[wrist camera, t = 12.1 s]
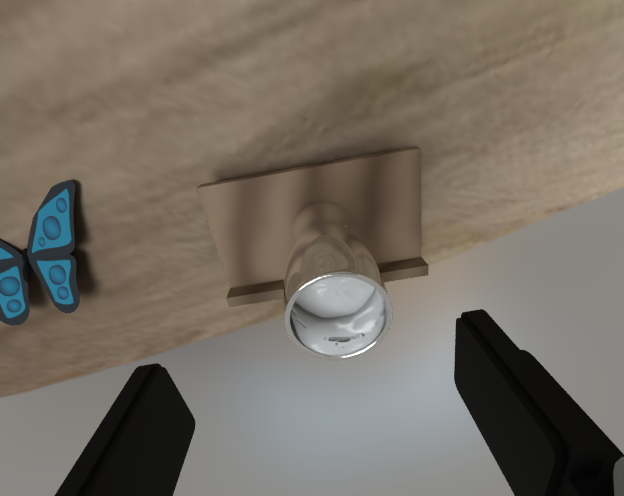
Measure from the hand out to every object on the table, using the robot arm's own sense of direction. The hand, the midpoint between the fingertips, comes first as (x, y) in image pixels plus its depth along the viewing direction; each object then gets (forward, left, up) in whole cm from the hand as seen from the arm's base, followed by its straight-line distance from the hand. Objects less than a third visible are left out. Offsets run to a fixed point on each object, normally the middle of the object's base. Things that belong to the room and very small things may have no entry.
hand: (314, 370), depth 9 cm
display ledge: (-1, +4, -27) cm, 27 cm away
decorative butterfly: (+35, +3, -28) cm, 44 cm away
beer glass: (-1, +4, -22) cm, 23 cm away
